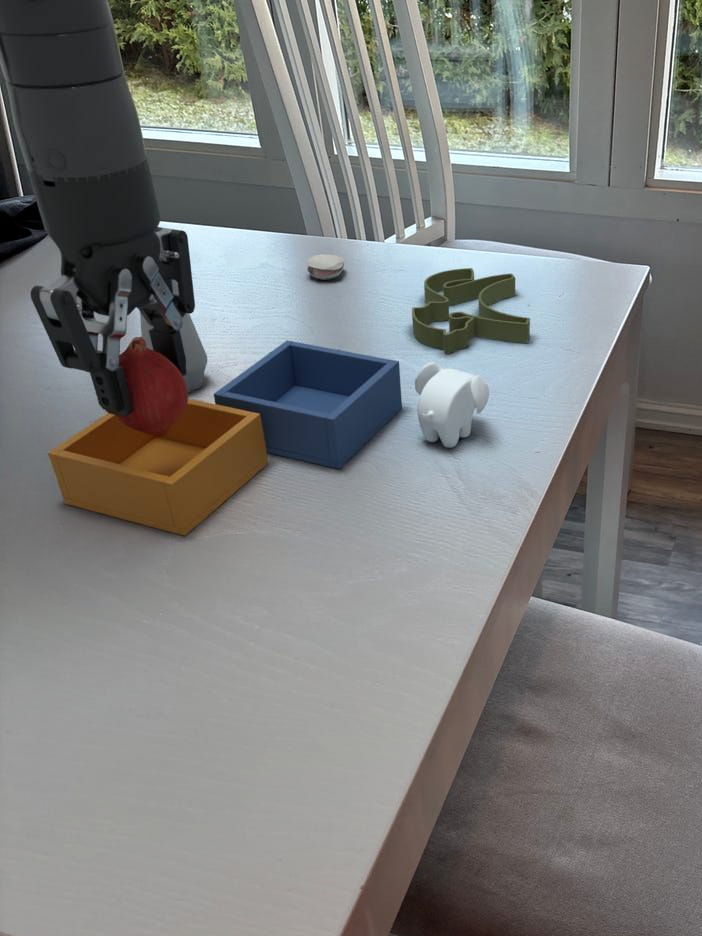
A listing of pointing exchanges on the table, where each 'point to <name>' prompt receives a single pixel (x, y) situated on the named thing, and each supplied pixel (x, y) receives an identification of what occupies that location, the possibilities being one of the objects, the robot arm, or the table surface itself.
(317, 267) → the macaroon
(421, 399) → the elephant figurine
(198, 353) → the salt shaker
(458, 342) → the cookie cutter
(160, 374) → the red pomegranate
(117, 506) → the ochre bin
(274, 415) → the blue bin
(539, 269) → the table surface
